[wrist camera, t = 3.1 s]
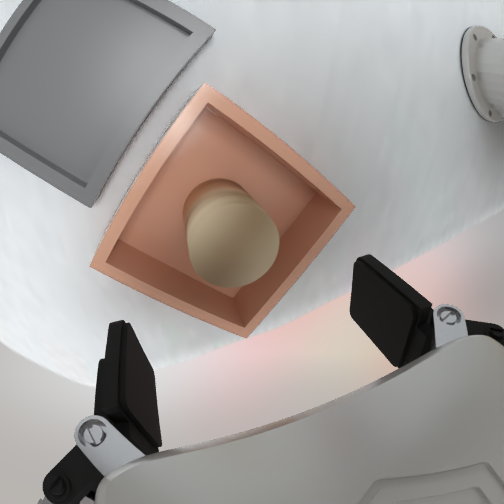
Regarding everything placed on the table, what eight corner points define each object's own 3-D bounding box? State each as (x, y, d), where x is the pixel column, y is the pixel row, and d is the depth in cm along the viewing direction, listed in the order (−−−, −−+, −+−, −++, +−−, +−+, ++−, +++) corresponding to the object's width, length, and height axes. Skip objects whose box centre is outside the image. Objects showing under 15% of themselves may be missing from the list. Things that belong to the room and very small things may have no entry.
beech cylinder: (264, 202, 22) (296, 234, 17) (225, 254, 23) (243, 300, 18) (209, 164, 19) (225, 185, 14) (169, 222, 21) (171, 263, 15)
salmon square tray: (325, 188, 23) (355, 206, 19) (233, 304, 26) (246, 338, 22) (197, 89, 17) (205, 82, 14) (102, 236, 20) (89, 266, 16)
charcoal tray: (211, 36, 16) (215, 29, 14) (96, 200, 19) (90, 208, 17) (68, -36, 9) (62, -45, 8) (-31, 120, 12) (-44, 123, 11)
